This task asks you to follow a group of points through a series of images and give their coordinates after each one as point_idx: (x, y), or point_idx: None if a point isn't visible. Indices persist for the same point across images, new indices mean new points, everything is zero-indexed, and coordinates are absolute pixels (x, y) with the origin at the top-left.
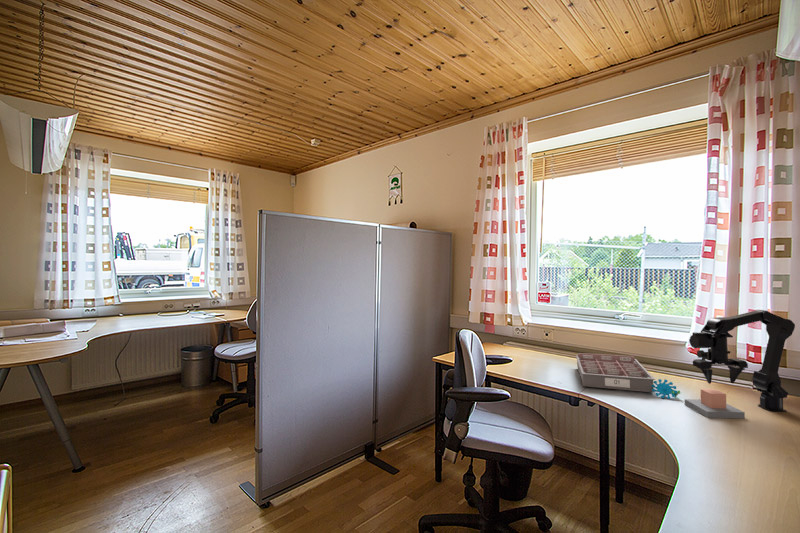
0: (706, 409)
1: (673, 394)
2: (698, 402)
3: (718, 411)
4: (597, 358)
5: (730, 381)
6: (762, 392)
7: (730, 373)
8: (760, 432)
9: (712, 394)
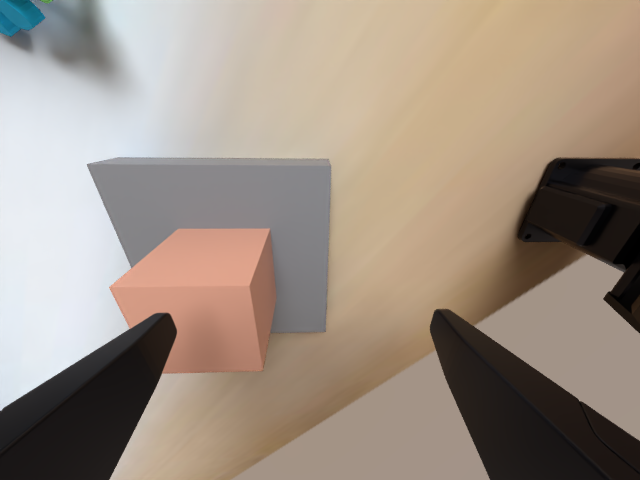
0: None
1: (7, 5)
2: (165, 223)
3: None
4: None
5: (441, 319)
6: None
7: (550, 453)
8: (287, 389)
9: (168, 369)
